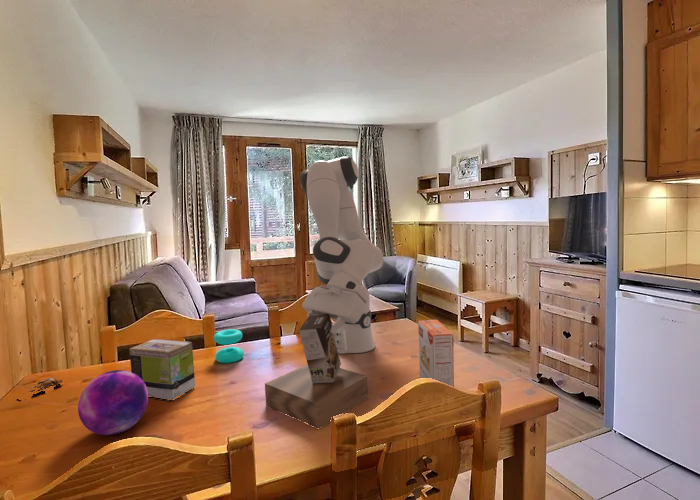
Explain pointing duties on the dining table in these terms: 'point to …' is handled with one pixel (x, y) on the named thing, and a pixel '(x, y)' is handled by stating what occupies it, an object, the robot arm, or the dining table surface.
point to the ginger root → (46, 384)
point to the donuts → (230, 352)
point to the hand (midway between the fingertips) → (318, 329)
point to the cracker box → (436, 352)
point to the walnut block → (315, 395)
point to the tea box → (164, 367)
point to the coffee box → (320, 349)
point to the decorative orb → (113, 402)
